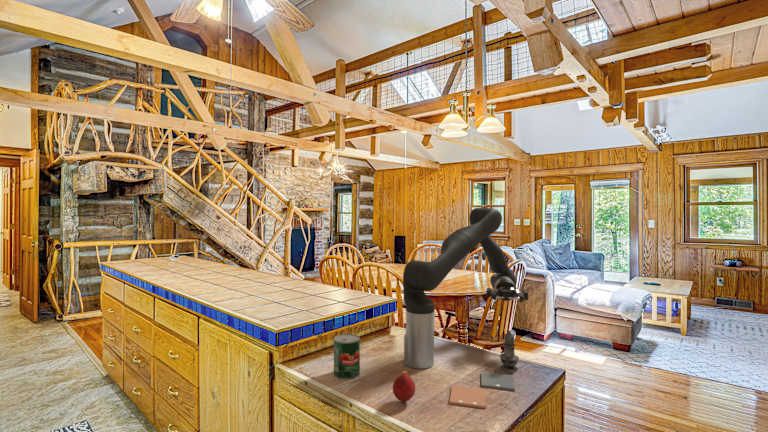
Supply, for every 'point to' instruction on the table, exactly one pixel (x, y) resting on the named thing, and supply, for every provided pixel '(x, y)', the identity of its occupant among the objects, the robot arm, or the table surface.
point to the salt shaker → (509, 354)
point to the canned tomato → (346, 356)
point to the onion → (404, 387)
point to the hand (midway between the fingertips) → (508, 298)
